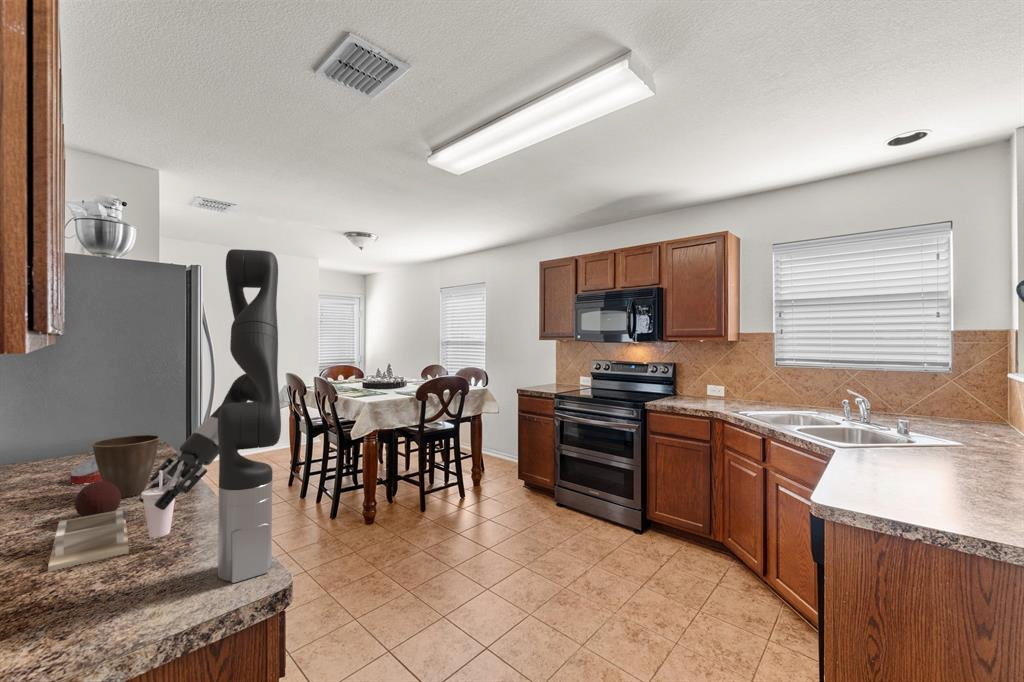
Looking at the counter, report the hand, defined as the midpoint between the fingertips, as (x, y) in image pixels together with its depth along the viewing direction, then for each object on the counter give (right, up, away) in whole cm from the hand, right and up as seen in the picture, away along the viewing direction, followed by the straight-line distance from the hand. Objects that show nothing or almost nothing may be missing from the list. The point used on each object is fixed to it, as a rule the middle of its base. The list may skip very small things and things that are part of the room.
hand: (150, 505), depth 98 cm
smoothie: (+1, -7, +1) cm, 7 cm away
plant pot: (-35, -10, +34) cm, 50 cm away
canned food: (-57, -10, +48) cm, 75 cm away
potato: (-27, -10, +17) cm, 33 cm away
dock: (-14, -10, +1) cm, 17 cm away
